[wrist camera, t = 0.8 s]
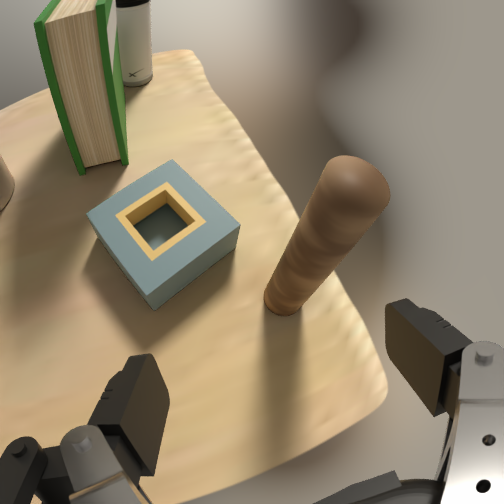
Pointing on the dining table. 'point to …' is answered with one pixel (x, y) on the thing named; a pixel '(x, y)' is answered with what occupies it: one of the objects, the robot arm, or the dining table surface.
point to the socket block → (164, 231)
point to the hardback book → (85, 78)
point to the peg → (327, 230)
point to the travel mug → (134, 41)
